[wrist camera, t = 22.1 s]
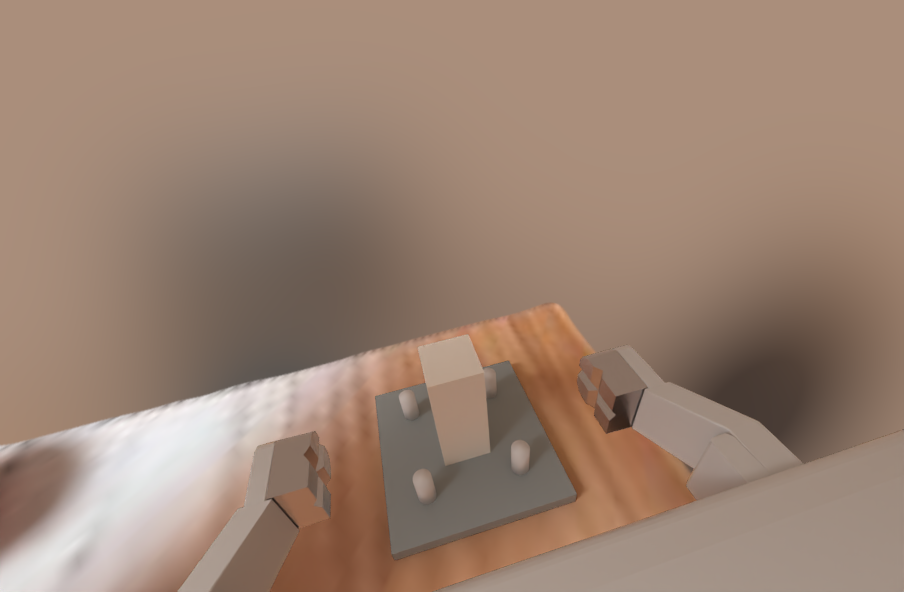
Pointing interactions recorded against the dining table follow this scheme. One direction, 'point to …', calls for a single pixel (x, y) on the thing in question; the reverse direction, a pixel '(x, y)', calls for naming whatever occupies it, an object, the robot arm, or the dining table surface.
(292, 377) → the dining table surface
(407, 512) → the peg cradle
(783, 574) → the robot arm
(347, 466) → the dining table surface
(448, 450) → the cream post
